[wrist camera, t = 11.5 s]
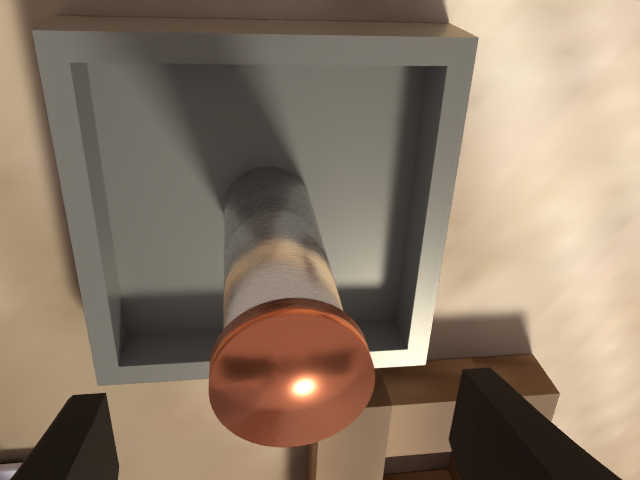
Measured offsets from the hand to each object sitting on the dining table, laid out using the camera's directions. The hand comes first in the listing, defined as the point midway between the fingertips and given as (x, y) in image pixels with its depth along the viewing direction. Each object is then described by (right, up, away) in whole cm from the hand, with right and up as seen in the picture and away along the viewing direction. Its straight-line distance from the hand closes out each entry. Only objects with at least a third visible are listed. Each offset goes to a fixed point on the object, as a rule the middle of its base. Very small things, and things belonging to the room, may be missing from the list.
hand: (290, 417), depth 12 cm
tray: (-1, +5, +9) cm, 10 cm away
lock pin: (-1, +5, +9) cm, 10 cm away
